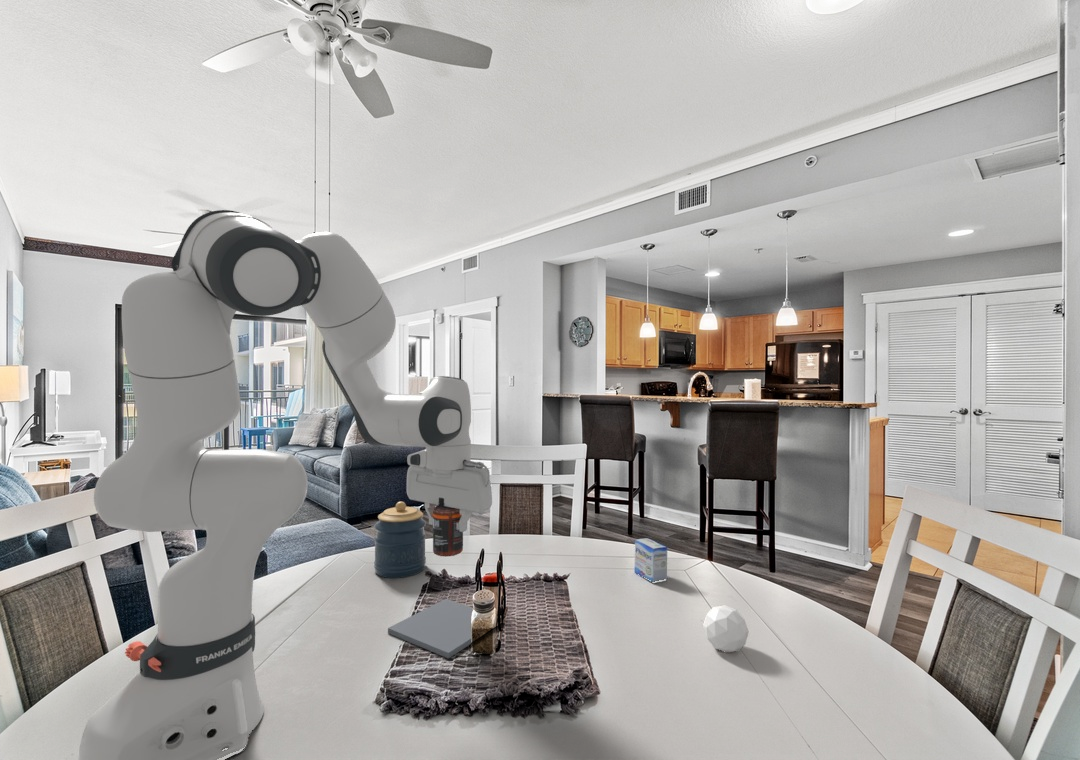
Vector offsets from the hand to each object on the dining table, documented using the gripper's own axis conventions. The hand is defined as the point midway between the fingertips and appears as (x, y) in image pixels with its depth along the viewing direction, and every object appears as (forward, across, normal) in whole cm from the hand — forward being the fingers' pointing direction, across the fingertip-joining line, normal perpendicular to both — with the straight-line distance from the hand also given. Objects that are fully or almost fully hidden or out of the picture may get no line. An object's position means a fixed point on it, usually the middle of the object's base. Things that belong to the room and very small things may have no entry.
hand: (447, 527), depth 100 cm
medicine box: (+20, -24, -48) cm, 57 cm away
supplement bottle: (+5, 0, 0) cm, 5 cm away
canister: (+20, +32, -16) cm, 41 cm away
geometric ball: (+20, -48, -23) cm, 57 cm away
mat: (+20, 0, 0) cm, 20 cm away
